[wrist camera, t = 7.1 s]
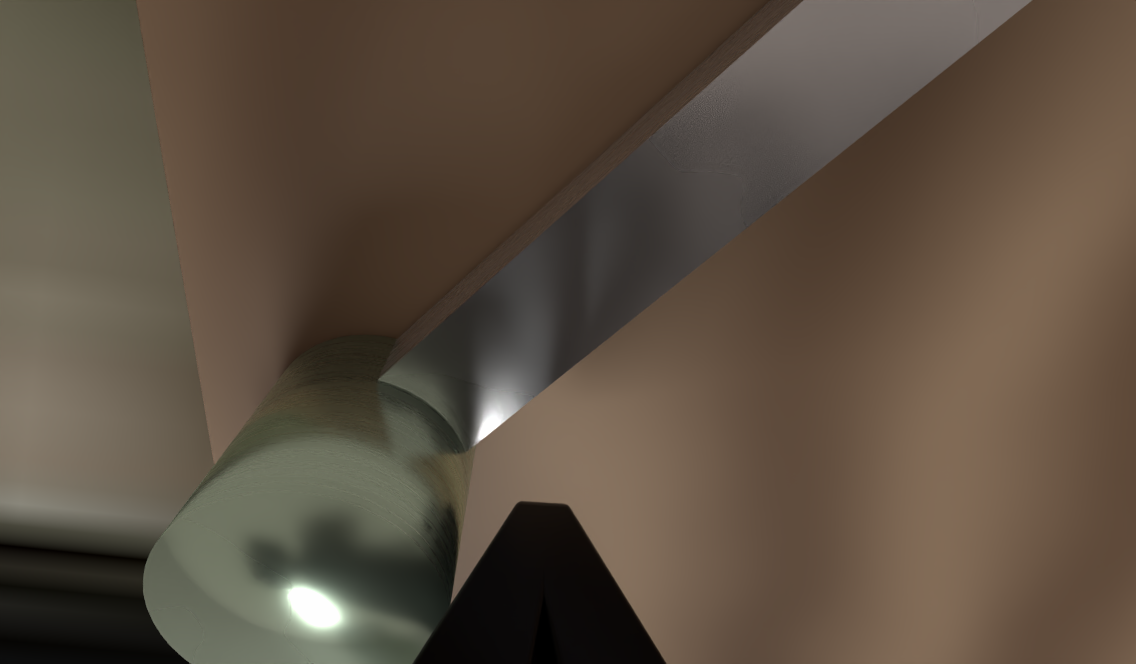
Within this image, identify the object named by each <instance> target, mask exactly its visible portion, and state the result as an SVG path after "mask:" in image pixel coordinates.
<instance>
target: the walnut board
mask: <svg viewBox="0 0 1136 664" xmlns="http://www.w3.org/2000/svg"><path fill="white" fill-rule="evenodd" d="M769 1H770V0H136V4H137V10H138V15H139V21H140V27H141V33H142V39H143V45H144V51H145V57H146V63H147V69H148V75H149V81H150V87H151V93H152V99H153V105H154V111H155V116H156V122H157V128H158V134H159V140H160V146H161V152H162V158H163V164H164V170H165V176H166V182H167V188H168V194H169V200H170V206H171V211H172V217H173V223H174V229H175V235H176V241H177V247H178V253H179V259H180V265H181V271H182V277H183V283H184V289H185V295H186V301H187V306H188V312H189V318H190V324H191V330H192V336H193V342H194V348H195V354H196V360H197V366H198V372H199V378H200V384H201V390H202V396H203V402H204V407H205V413H206V419H207V425H208V431H209V437H210V443H211V449H212V455H213V461H214V465H215V463H216V462H217V461H218V459H219V458H220V457H221V455H222V454H223V453H224V451H225V450H226V449H227V447H228V446H229V445H230V443H231V442H232V441H233V439H234V438H235V437H236V435H237V434H238V433H239V431H240V430H241V429H242V427H243V426H244V425H245V423H246V422H247V421H248V419H249V418H250V417H251V415H252V414H253V413H254V411H255V410H256V409H257V407H258V406H259V405H260V403H261V402H262V401H263V399H264V398H265V397H266V395H267V394H268V393H269V391H270V390H271V389H272V387H273V386H274V385H275V383H276V382H277V381H278V379H279V378H280V377H281V375H282V374H283V373H284V371H285V370H286V369H287V368H288V367H289V365H290V364H291V363H292V362H293V361H294V360H295V359H296V358H297V357H299V356H300V355H301V354H302V353H304V352H305V351H307V350H309V349H310V348H312V347H314V346H316V345H318V344H320V343H323V342H325V341H328V340H331V339H335V338H339V337H344V336H351V335H377V336H385V337H390V338H395V339H397V338H398V337H400V336H401V335H402V334H403V333H404V332H405V331H406V330H407V329H408V328H409V327H411V326H412V325H413V324H414V323H415V322H416V321H417V320H418V319H419V318H420V317H422V316H423V315H424V314H425V313H426V312H427V311H428V310H429V309H430V308H432V307H433V306H434V305H435V304H436V303H437V302H438V301H439V300H440V299H441V298H443V297H444V296H445V295H446V294H447V293H448V292H449V291H450V290H451V289H452V288H454V287H455V286H456V285H457V284H458V283H459V282H460V281H461V280H462V279H463V278H465V277H466V276H467V275H468V274H469V273H470V272H471V271H472V270H473V269H475V268H476V267H477V266H478V265H479V264H480V263H481V262H482V261H483V260H484V259H486V258H487V257H488V256H489V255H490V254H491V253H492V252H493V251H494V250H495V249H497V248H498V247H499V246H500V245H501V244H502V243H503V242H504V241H505V240H507V239H508V238H509V237H510V236H511V235H512V234H513V233H514V232H515V231H516V230H518V229H519V228H520V227H521V226H522V225H523V224H524V223H525V222H526V221H527V220H529V219H530V218H531V217H532V216H533V215H534V214H535V213H536V212H537V211H538V210H540V209H541V208H542V207H543V206H544V205H545V204H546V203H547V202H548V201H550V200H551V199H552V198H553V197H554V196H555V195H556V194H557V193H558V192H559V191H561V190H562V189H563V188H564V187H565V186H566V185H567V184H568V183H569V182H570V181H572V180H573V179H574V178H575V177H576V176H577V175H578V174H579V173H580V172H581V171H583V170H584V169H585V168H586V167H587V166H588V165H589V164H590V163H591V162H593V161H594V160H595V159H596V158H597V157H598V156H599V155H600V154H601V153H602V152H604V151H605V150H606V149H607V148H608V147H609V146H610V145H611V144H612V143H613V142H615V141H616V140H617V139H618V138H619V137H620V136H621V135H622V134H623V133H625V132H626V131H627V130H628V129H629V128H630V127H631V126H632V125H633V124H634V123H636V122H637V121H638V120H639V119H640V118H641V117H642V116H643V115H644V114H645V113H647V112H648V111H649V110H650V109H651V108H652V107H653V106H654V105H655V104H656V103H658V102H659V101H660V100H661V99H662V98H663V97H664V96H665V95H666V94H668V93H669V92H670V91H671V90H672V89H673V88H674V87H675V86H676V85H677V84H679V83H680V82H681V81H682V80H683V79H684V78H685V77H686V76H687V75H688V74H690V73H691V72H692V71H693V70H694V69H695V68H696V67H697V66H698V65H699V64H701V63H702V62H703V61H704V60H705V59H706V58H707V57H708V56H709V55H711V54H712V53H713V52H714V51H715V50H716V49H717V48H718V47H719V46H720V45H722V44H723V43H724V42H725V41H726V40H727V39H728V38H729V37H730V36H731V35H733V34H734V33H735V32H736V31H737V30H738V29H739V28H740V27H741V26H743V25H744V24H745V23H746V22H747V21H748V20H749V19H750V18H751V17H752V16H754V15H755V14H756V13H757V12H758V11H759V10H760V9H761V8H762V7H763V6H765V5H766V4H767V3H768V2H769ZM520 501H532V502H548V503H564V504H567V505H568V506H570V508H571V509H572V511H573V513H574V514H575V516H576V517H577V519H578V521H579V522H580V524H581V525H582V527H583V529H584V530H585V532H586V534H587V535H588V537H589V538H590V540H591V542H592V543H593V545H594V547H595V548H596V550H597V551H598V553H599V555H600V556H601V558H602V560H603V561H604V563H605V564H606V566H607V568H608V569H609V571H610V572H611V574H612V576H613V577H614V579H615V581H616V582H617V584H618V585H619V587H620V589H621V590H622V592H623V594H624V595H625V597H626V598H627V600H628V602H629V603H630V605H631V607H632V608H633V610H634V611H635V613H636V615H637V616H638V618H639V619H640V621H641V623H642V624H643V626H644V628H645V629H646V631H647V632H648V634H649V636H650V637H651V639H652V641H653V642H654V644H655V645H656V647H657V649H658V650H659V652H660V654H661V655H662V657H663V658H664V660H665V662H666V663H667V664H1136V0H1032V1H1031V2H1029V3H1028V4H1027V5H1026V6H1024V7H1023V8H1022V9H1021V10H1019V11H1018V12H1017V13H1016V14H1014V15H1013V16H1012V17H1011V18H1009V19H1008V20H1007V21H1006V22H1004V23H1003V24H1002V25H1001V26H999V27H998V28H997V29H996V30H994V31H993V32H992V33H991V34H989V35H988V36H987V37H986V38H984V39H983V40H982V41H981V42H979V43H978V44H977V45H976V46H974V47H973V48H972V49H971V50H969V51H968V52H967V53H966V54H964V55H963V56H962V57H960V58H959V59H958V60H957V61H955V62H954V63H953V64H952V65H950V66H949V67H948V68H947V69H945V70H944V71H943V72H942V73H940V74H939V75H938V76H937V77H935V78H934V79H933V80H932V81H930V82H929V83H928V84H927V85H925V86H924V87H923V88H922V89H920V90H919V91H918V92H917V93H915V94H914V95H913V96H912V97H910V98H909V99H908V100H907V101H905V102H904V103H903V104H902V105H900V106H899V107H898V108H897V109H895V110H894V111H893V112H892V113H890V114H889V115H888V116H887V117H885V118H884V119H883V120H882V121H880V122H879V123H878V124H877V125H875V126H874V127H873V128H872V129H870V130H869V131H868V132H867V133H865V134H864V135H863V136H861V137H860V138H859V139H858V140H856V141H855V142H854V143H853V144H851V145H850V146H849V147H848V148H846V149H845V150H844V151H843V152H841V153H840V154H839V155H838V156H836V157H835V158H834V159H833V160H831V161H830V162H829V163H828V164H826V165H825V166H824V167H823V168H821V169H820V170H819V171H818V172H816V173H815V174H814V175H813V176H811V177H810V178H809V179H808V180H806V181H805V182H804V183H803V184H801V185H800V186H799V187H798V188H796V189H795V190H794V191H793V192H791V193H790V194H789V195H788V196H786V197H785V198H784V199H783V200H781V201H780V202H779V203H778V204H776V205H775V206H774V207H773V208H771V209H770V210H769V211H768V212H766V213H765V214H764V215H762V216H761V217H760V218H759V219H757V220H756V221H755V222H754V223H752V224H751V225H750V226H749V227H747V228H746V229H745V230H744V231H742V232H741V233H740V234H739V235H737V236H736V237H735V238H734V239H732V240H731V241H730V242H729V243H727V244H726V245H725V246H724V247H722V248H721V249H720V250H719V251H717V252H716V253H715V254H714V255H712V256H711V257H710V258H709V259H707V260H706V261H705V262H704V263H702V264H701V265H700V266H699V267H697V268H696V269H695V270H694V271H692V272H691V273H690V274H689V275H687V276H686V277H685V278H684V279H682V280H681V281H680V282H679V283H677V284H676V285H675V286H674V287H672V288H671V289H670V290H669V291H667V292H666V293H665V294H664V295H662V296H661V297H660V298H658V299H657V300H656V301H655V302H653V303H652V304H651V305H650V306H648V307H647V308H646V309H645V310H643V311H642V312H641V313H640V314H638V315H637V316H636V317H635V318H633V319H632V320H631V321H630V322H628V323H627V324H626V325H625V326H623V327H622V328H621V329H620V330H618V331H617V332H616V333H615V334H613V335H612V336H611V337H610V338H608V339H607V340H606V341H605V342H603V343H602V344H601V345H600V346H598V347H597V348H596V349H595V350H593V351H592V352H591V353H590V354H588V355H587V356H586V357H585V358H583V359H582V360H581V361H580V362H578V363H577V364H576V365H575V366H573V367H572V368H571V369H570V370H568V371H567V372H566V373H565V374H563V375H562V376H561V377H559V378H558V379H557V380H556V381H554V382H553V383H552V384H551V385H549V386H548V387H547V388H546V389H544V390H543V391H542V392H541V393H539V394H538V395H537V396H536V397H534V398H533V399H532V400H531V401H529V402H528V403H527V404H526V405H524V406H523V407H522V408H521V409H519V410H518V411H517V412H516V413H514V414H513V415H512V416H511V417H509V418H508V419H507V420H506V421H504V422H503V423H502V424H501V425H499V426H498V427H497V428H496V429H494V430H493V431H492V432H491V433H489V434H488V435H487V436H486V437H484V438H483V439H482V440H481V441H479V442H478V443H477V444H476V450H475V456H474V462H473V468H472V474H471V481H470V487H469V493H468V499H467V505H466V512H465V518H464V524H463V530H462V536H461V543H460V549H459V555H458V561H457V567H456V573H455V580H454V586H453V592H452V598H451V603H452V601H453V600H454V598H455V597H456V595H457V594H458V592H459V591H460V589H461V588H462V586H463V584H464V583H465V581H466V580H467V578H468V577H469V575H470V574H471V572H472V571H473V569H474V568H475V566H476V565H477V563H478V561H479V560H480V558H481V557H482V555H483V554H484V552H485V551H486V549H487V548H488V546H489V545H490V543H491V541H492V540H493V538H494V537H495V535H496V534H497V532H498V531H499V529H500V528H501V526H502V525H503V523H504V521H505V520H506V518H507V517H508V515H509V514H510V512H511V511H512V509H513V508H514V506H515V505H516V504H517V503H518V502H520Z"/></svg>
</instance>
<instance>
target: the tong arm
mask: <svg viewBox="0 0 1136 664" xmlns="http://www.w3.org/2000/svg"><path fill="white" fill-rule="evenodd" d="M1031 1H1032V0H770V1H769V2H768V3H767V4H766V5H765V6H763V7H762V8H761V9H760V10H759V11H758V12H757V13H756V14H755V15H754V16H752V17H751V18H750V19H749V20H748V21H747V22H746V23H745V24H744V25H743V26H741V27H740V28H739V29H738V30H737V31H736V32H735V33H734V34H733V35H731V36H730V37H729V38H728V39H727V40H726V41H725V42H724V43H723V44H722V45H720V46H719V47H718V48H717V49H716V50H715V51H714V52H713V53H712V54H711V55H709V56H708V57H707V58H706V59H705V60H704V61H703V62H702V63H701V64H699V65H698V66H697V67H696V68H695V69H694V70H693V71H692V72H691V73H690V74H688V75H687V76H686V77H685V78H684V79H683V80H682V81H681V82H680V83H679V84H677V85H676V86H675V87H674V88H673V89H672V90H671V91H670V92H669V93H668V94H666V95H665V96H664V97H663V98H662V99H661V100H660V101H659V102H658V103H656V104H655V105H654V106H653V107H652V108H651V109H650V110H649V111H648V112H647V113H645V114H644V115H643V116H642V117H641V118H640V119H639V120H638V121H637V122H636V123H634V124H633V125H632V126H631V127H630V128H629V129H628V130H627V131H626V132H625V133H623V134H622V135H621V136H620V137H619V138H618V139H617V140H616V141H615V142H613V143H612V144H611V145H610V146H609V147H608V148H607V149H606V150H605V151H604V152H602V153H601V154H600V155H599V156H598V157H597V158H596V159H595V160H594V161H593V162H591V163H590V164H589V165H588V166H587V167H586V168H585V169H584V170H583V171H581V172H580V173H579V174H578V175H577V176H576V177H575V178H574V179H573V180H572V181H570V182H569V183H568V184H567V185H566V186H565V187H564V188H563V189H562V190H561V191H559V192H558V193H557V194H556V195H555V196H554V197H553V198H552V199H551V200H550V201H548V202H547V203H546V204H545V205H544V206H543V207H542V208H541V209H540V210H538V211H537V212H536V213H535V214H534V215H533V216H532V217H531V218H530V219H529V220H527V221H526V222H525V223H524V224H523V225H522V226H521V227H520V228H519V229H518V230H516V231H515V232H514V233H513V234H512V235H511V236H510V237H509V238H508V239H507V240H505V241H504V242H503V243H502V244H501V245H500V246H499V247H498V248H497V249H495V250H494V251H493V252H492V253H491V254H490V255H489V256H488V257H487V258H486V259H484V260H483V261H482V262H481V263H480V264H479V265H478V266H477V267H476V268H475V269H473V270H472V271H471V272H470V273H469V274H468V275H467V276H466V277H465V278H463V279H462V280H461V281H460V282H459V283H458V284H457V285H456V286H455V287H454V288H452V289H451V290H450V291H449V292H448V293H447V294H446V295H445V296H444V297H443V298H441V299H440V300H439V301H438V302H437V303H436V304H435V305H434V306H433V307H432V308H430V309H429V310H428V311H427V312H426V313H425V314H424V315H423V316H422V317H420V318H419V319H418V320H417V321H416V322H415V323H414V324H413V325H412V326H411V327H409V328H408V329H407V330H406V331H405V332H404V333H403V334H402V335H401V336H400V337H398V338H397V339H395V338H390V337H385V336H377V335H351V336H344V337H339V338H335V339H331V340H328V341H325V342H323V343H320V344H318V345H316V346H314V347H312V348H310V349H309V350H307V351H305V352H304V353H302V354H301V355H300V356H299V357H297V358H296V359H295V360H294V361H293V362H292V363H291V364H290V365H289V367H288V368H287V369H286V370H285V371H284V373H283V374H282V375H281V377H280V378H279V379H278V381H277V382H276V383H275V385H274V386H273V387H272V389H271V390H270V391H269V393H268V394H267V395H266V397H265V398H264V399H263V401H262V402H261V403H260V405H259V406H258V407H257V409H256V410H255V411H254V413H253V414H252V415H251V417H250V418H249V419H248V421H247V422H246V423H245V425H244V426H243V427H242V429H241V430H240V431H239V433H238V434H237V435H236V437H235V438H234V439H233V441H232V442H231V443H230V445H229V446H228V447H227V449H226V450H225V451H224V453H223V454H222V455H221V457H220V458H219V459H218V461H217V462H216V463H215V465H214V466H213V467H212V469H211V470H210V471H209V473H208V474H207V475H206V477H205V478H204V479H203V481H202V482H201V483H200V485H199V486H198V487H197V489H196V490H195V491H194V493H193V494H192V495H191V497H190V498H189V499H188V501H187V502H186V503H185V505H184V506H183V507H182V509H181V510H180V511H179V513H178V514H177V515H176V517H175V518H174V519H173V521H172V522H171V523H170V525H169V526H168V527H167V529H166V530H165V531H164V533H163V534H162V535H161V537H160V538H159V539H158V541H157V543H156V544H155V546H154V547H153V549H152V551H151V552H150V554H149V557H148V560H147V562H146V565H145V570H144V577H143V592H144V598H145V602H146V606H147V609H148V612H149V614H150V616H151V618H152V621H153V623H154V624H155V626H156V627H157V629H158V630H159V632H160V634H161V635H162V636H163V637H164V639H165V640H166V641H167V642H168V643H169V645H170V646H171V647H172V648H173V649H174V650H175V651H176V652H178V653H179V654H180V655H181V656H182V657H183V658H184V659H185V660H187V661H188V662H189V663H191V664H412V663H413V661H414V660H415V658H416V657H417V655H418V654H419V652H420V651H421V649H422V648H423V646H424V644H425V643H426V641H427V640H428V638H429V637H430V635H431V634H432V632H433V631H434V629H435V628H436V626H437V624H438V623H439V621H440V620H441V618H442V617H443V615H444V614H445V612H446V611H447V609H448V608H449V606H450V604H451V598H452V592H453V586H454V580H455V573H456V567H457V561H458V555H459V549H460V543H461V536H462V530H463V524H464V518H465V512H466V505H467V499H468V493H469V487H470V481H471V474H472V468H473V462H474V456H475V450H476V444H477V443H478V442H479V441H481V440H482V439H483V438H484V437H486V436H487V435H488V434H489V433H491V432H492V431H493V430H494V429H496V428H497V427H498V426H499V425H501V424H502V423H503V422H504V421H506V420H507V419H508V418H509V417H511V416H512V415H513V414H514V413H516V412H517V411H518V410H519V409H521V408H522V407H523V406H524V405H526V404H527V403H528V402H529V401H531V400H532V399H533V398H534V397H536V396H537V395H538V394H539V393H541V392H542V391H543V390H544V389H546V388H547V387H548V386H549V385H551V384H552V383H553V382H554V381H556V380H557V379H558V378H559V377H561V376H562V375H563V374H565V373H566V372H567V371H568V370H570V369H571V368H572V367H573V366H575V365H576V364H577V363H578V362H580V361H581V360H582V359H583V358H585V357H586V356H587V355H588V354H590V353H591V352H592V351H593V350H595V349H596V348H597V347H598V346H600V345H601V344H602V343H603V342H605V341H606V340H607V339H608V338H610V337H611V336H612V335H613V334H615V333H616V332H617V331H618V330H620V329H621V328H622V327H623V326H625V325H626V324H627V323H628V322H630V321H631V320H632V319H633V318H635V317H636V316H637V315H638V314H640V313H641V312H642V311H643V310H645V309H646V308H647V307H648V306H650V305H651V304H652V303H653V302H655V301H656V300H657V299H658V298H660V297H661V296H662V295H664V294H665V293H666V292H667V291H669V290H670V289H671V288H672V287H674V286H675V285H676V284H677V283H679V282H680V281H681V280H682V279H684V278H685V277H686V276H687V275H689V274H690V273H691V272H692V271H694V270H695V269H696V268H697V267H699V266H700V265H701V264H702V263H704V262H705V261H706V260H707V259H709V258H710V257H711V256H712V255H714V254H715V253H716V252H717V251H719V250H720V249H721V248H722V247H724V246H725V245H726V244H727V243H729V242H730V241H731V240H732V239H734V238H735V237H736V236H737V235H739V234H740V233H741V232H742V231H744V230H745V229H746V228H747V227H749V226H750V225H751V224H752V223H754V222H755V221H756V220H757V219H759V218H760V217H761V216H762V215H764V214H765V213H766V212H768V211H769V210H770V209H771V208H773V207H774V206H775V205H776V204H778V203H779V202H780V201H781V200H783V199H784V198H785V197H786V196H788V195H789V194H790V193H791V192H793V191H794V190H795V189H796V188H798V187H799V186H800V185H801V184H803V183H804V182H805V181H806V180H808V179H809V178H810V177H811V176H813V175H814V174H815V173H816V172H818V171H819V170H820V169H821V168H823V167H824V166H825V165H826V164H828V163H829V162H830V161H831V160H833V159H834V158H835V157H836V156H838V155H839V154H840V153H841V152H843V151H844V150H845V149H846V148H848V147H849V146H850V145H851V144H853V143H854V142H855V141H856V140H858V139H859V138H860V137H861V136H863V135H864V134H865V133H867V132H868V131H869V130H870V129H872V128H873V127H874V126H875V125H877V124H878V123H879V122H880V121H882V120H883V119H884V118H885V117H887V116H888V115H889V114H890V113H892V112H893V111H894V110H895V109H897V108H898V107H899V106H900V105H902V104H903V103H904V102H905V101H907V100H908V99H909V98H910V97H912V96H913V95H914V94H915V93H917V92H918V91H919V90H920V89H922V88H923V87H924V86H925V85H927V84H928V83H929V82H930V81H932V80H933V79H934V78H935V77H937V76H938V75H939V74H940V73H942V72H943V71H944V70H945V69H947V68H948V67H949V66H950V65H952V64H953V63H954V62H955V61H957V60H958V59H959V58H960V57H962V56H963V55H964V54H966V53H967V52H968V51H969V50H971V49H972V48H973V47H974V46H976V45H977V44H978V43H979V42H981V41H982V40H983V39H984V38H986V37H987V36H988V35H989V34H991V33H992V32H993V31H994V30H996V29H997V28H998V27H999V26H1001V25H1002V24H1003V23H1004V22H1006V21H1007V20H1008V19H1009V18H1011V17H1012V16H1013V15H1014V14H1016V13H1017V12H1018V11H1019V10H1021V9H1022V8H1023V7H1024V6H1026V5H1027V4H1028V3H1029V2H1031Z"/></svg>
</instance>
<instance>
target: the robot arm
mask: <svg viewBox="0 0 1136 664" xmlns="http://www.w3.org/2000/svg"><path fill="white" fill-rule="evenodd" d="M412 664H667V663H666V662H665V660H664V658H663V657H662V655H661V654H660V652H659V650H658V649H657V647H656V645H655V644H654V642H653V641H652V639H651V637H650V636H649V634H648V632H647V631H646V629H645V628H644V626H643V624H642V623H641V621H640V619H639V618H638V616H637V615H636V613H635V611H634V610H633V608H632V607H631V605H630V603H629V602H628V600H627V598H626V597H625V595H624V594H623V592H622V590H621V589H620V587H619V585H618V584H617V582H616V581H615V579H614V577H613V576H612V574H611V572H610V571H609V569H608V568H607V566H606V564H605V563H604V561H603V560H602V558H601V556H600V555H599V553H598V551H597V550H596V548H595V547H594V545H593V543H592V542H591V540H590V538H589V537H588V535H587V534H586V532H585V530H584V529H583V527H582V525H581V524H580V522H579V521H578V519H577V517H576V516H575V514H574V513H573V511H572V509H571V508H570V506H568V505H567V504H564V503H548V502H532V501H520V502H518V503H517V504H516V505H515V506H514V508H513V509H512V511H511V512H510V514H509V515H508V517H507V518H506V520H505V521H504V523H503V525H502V526H501V528H500V529H499V531H498V532H497V534H496V535H495V537H494V538H493V540H492V541H491V543H490V545H489V546H488V548H487V549H486V551H485V552H484V554H483V555H482V557H481V558H480V560H479V561H478V563H477V565H476V566H475V568H474V569H473V571H472V572H471V574H470V575H469V577H468V578H467V580H466V581H465V583H464V584H463V586H462V588H461V589H460V591H459V592H458V594H457V595H456V597H455V598H454V600H453V601H452V603H451V604H450V606H449V608H448V609H447V611H446V612H445V614H444V615H443V617H442V618H441V620H440V621H439V623H438V624H437V626H436V628H435V629H434V631H433V632H432V634H431V635H430V637H429V638H428V640H427V641H426V643H425V644H424V646H423V648H422V649H421V651H420V652H419V654H418V655H417V657H416V658H415V660H414V661H413V663H412Z"/></svg>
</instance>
